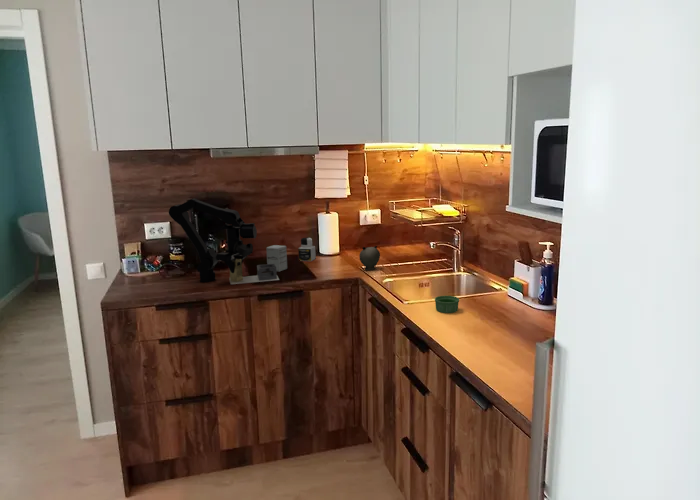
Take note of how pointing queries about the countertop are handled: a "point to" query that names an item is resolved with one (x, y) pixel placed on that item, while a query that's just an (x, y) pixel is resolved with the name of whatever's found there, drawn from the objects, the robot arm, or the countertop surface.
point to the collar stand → (269, 274)
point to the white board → (250, 280)
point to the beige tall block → (237, 271)
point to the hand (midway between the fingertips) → (235, 271)
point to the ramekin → (446, 304)
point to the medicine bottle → (306, 250)
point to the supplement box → (277, 256)
